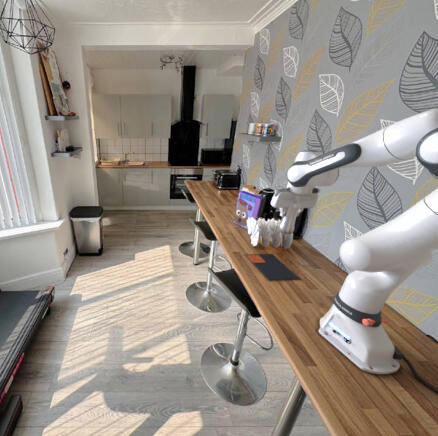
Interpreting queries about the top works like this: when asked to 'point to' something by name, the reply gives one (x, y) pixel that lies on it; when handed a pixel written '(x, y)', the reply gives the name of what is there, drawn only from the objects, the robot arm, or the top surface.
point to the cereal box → (248, 208)
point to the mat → (272, 267)
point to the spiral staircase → (268, 233)
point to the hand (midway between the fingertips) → (289, 216)
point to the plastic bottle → (290, 217)
